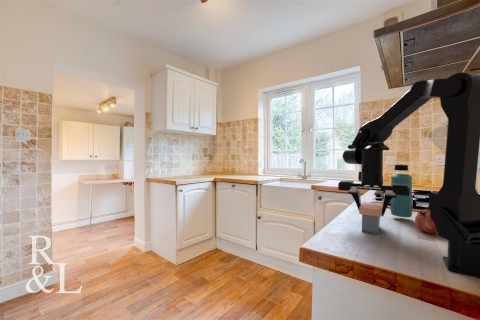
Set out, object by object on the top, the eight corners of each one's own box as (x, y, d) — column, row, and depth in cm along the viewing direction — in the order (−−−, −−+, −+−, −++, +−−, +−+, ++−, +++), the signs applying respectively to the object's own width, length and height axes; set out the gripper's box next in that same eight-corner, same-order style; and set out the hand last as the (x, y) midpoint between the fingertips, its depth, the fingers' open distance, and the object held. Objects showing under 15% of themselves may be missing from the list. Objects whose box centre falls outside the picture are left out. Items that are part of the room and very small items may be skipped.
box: (378, 234, 64) (378, 216, 64) (361, 231, 67) (362, 213, 66) (379, 226, 71) (379, 209, 71) (364, 224, 74) (365, 208, 74)
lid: (381, 220, 63) (381, 210, 63) (359, 217, 66) (359, 207, 66) (382, 212, 71) (382, 203, 71) (362, 210, 75) (363, 201, 75)
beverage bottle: (416, 222, 76) (417, 164, 76) (395, 221, 77) (395, 164, 77) (406, 217, 82) (407, 164, 82) (386, 216, 84) (387, 164, 83)
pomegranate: (426, 234, 71) (401, 215, 71) (443, 217, 69) (418, 198, 69) (444, 246, 63) (417, 225, 63) (464, 228, 62) (436, 206, 62)
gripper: (407, 165, 70) (407, 213, 70) (344, 163, 81) (343, 205, 81) (410, 166, 61) (409, 222, 61) (337, 164, 71) (337, 212, 72)
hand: (371, 214), depth 69 cm, fingers closed on lid, 6 cm apart
